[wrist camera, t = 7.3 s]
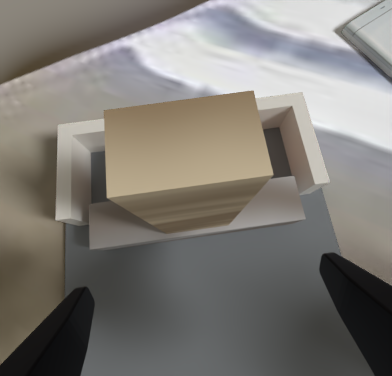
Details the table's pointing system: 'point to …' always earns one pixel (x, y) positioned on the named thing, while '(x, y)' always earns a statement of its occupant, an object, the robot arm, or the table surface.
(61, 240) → the table surface
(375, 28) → the hard drive
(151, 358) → the board
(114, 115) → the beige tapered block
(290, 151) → the tray
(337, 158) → the table surface
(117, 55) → the table surface
